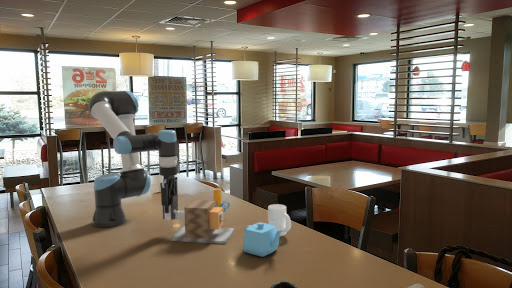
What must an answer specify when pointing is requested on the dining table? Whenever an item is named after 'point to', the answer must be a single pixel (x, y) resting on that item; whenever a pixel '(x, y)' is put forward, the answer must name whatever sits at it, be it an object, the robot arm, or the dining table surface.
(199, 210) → the block
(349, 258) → the dining table surface
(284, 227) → the mug
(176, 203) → the grey mallet
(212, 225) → the block
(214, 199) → the cylinder
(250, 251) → the teapot
